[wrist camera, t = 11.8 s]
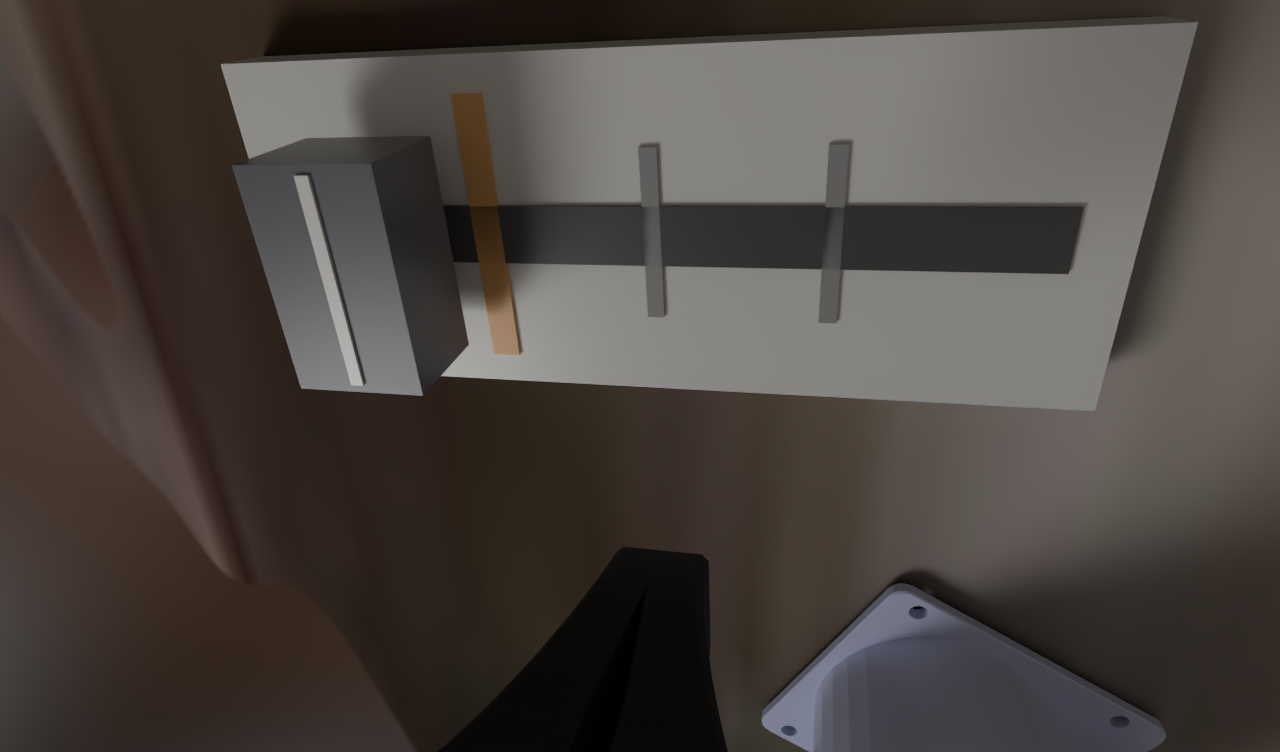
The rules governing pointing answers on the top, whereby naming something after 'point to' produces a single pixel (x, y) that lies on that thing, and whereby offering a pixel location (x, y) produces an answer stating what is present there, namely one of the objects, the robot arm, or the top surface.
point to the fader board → (777, 200)
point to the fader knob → (357, 260)
